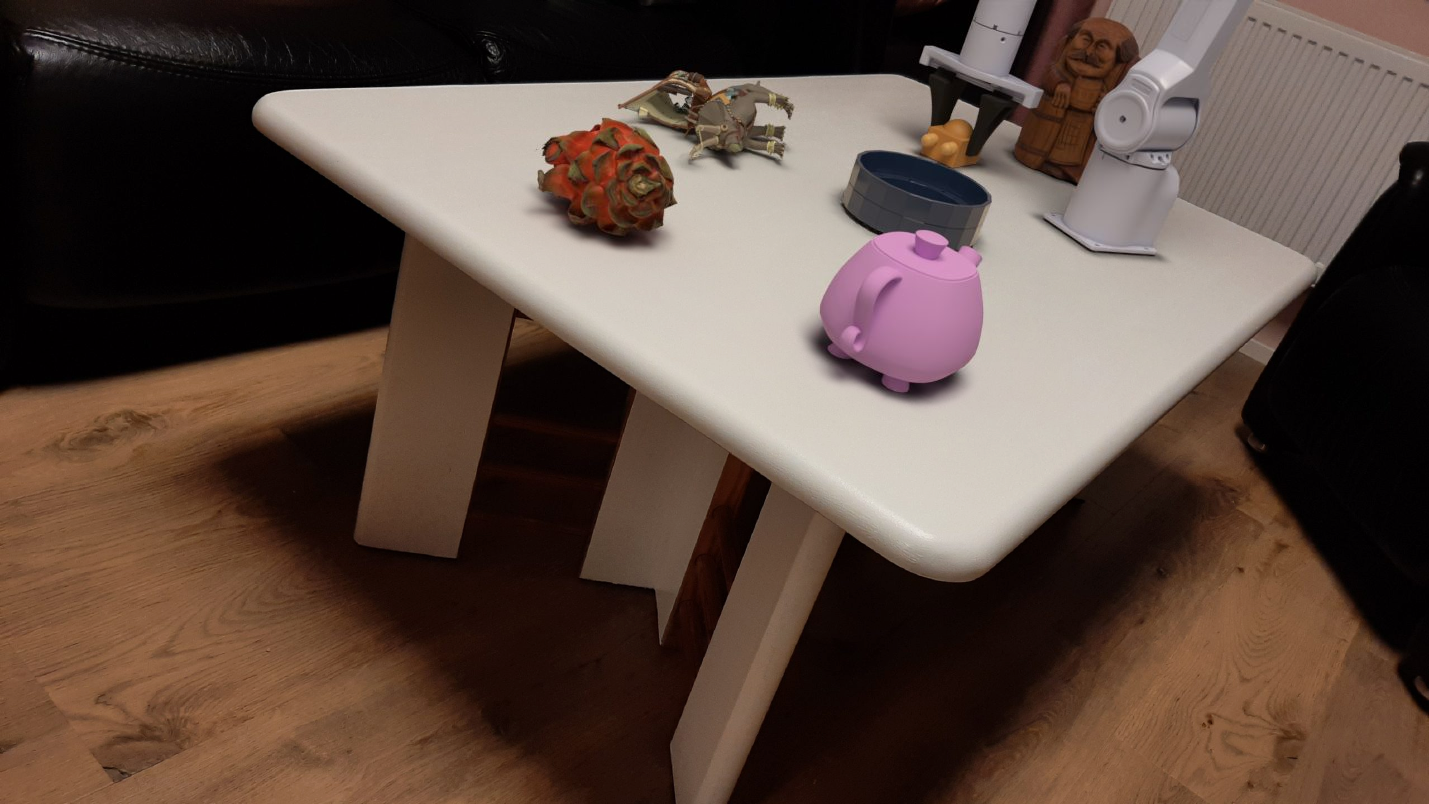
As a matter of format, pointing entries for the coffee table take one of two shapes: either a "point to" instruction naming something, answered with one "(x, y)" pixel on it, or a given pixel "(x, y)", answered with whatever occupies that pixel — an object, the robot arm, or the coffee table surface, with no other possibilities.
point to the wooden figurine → (1075, 96)
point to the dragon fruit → (609, 177)
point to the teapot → (906, 308)
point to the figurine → (713, 112)
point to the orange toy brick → (949, 143)
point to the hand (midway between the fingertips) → (953, 147)
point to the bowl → (916, 197)
